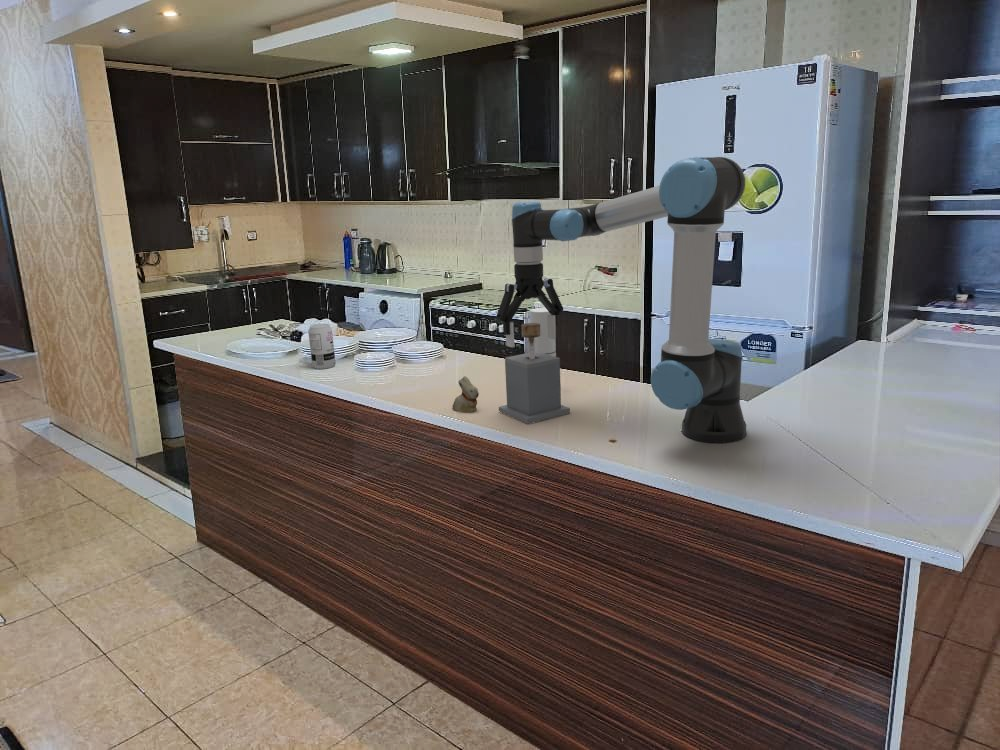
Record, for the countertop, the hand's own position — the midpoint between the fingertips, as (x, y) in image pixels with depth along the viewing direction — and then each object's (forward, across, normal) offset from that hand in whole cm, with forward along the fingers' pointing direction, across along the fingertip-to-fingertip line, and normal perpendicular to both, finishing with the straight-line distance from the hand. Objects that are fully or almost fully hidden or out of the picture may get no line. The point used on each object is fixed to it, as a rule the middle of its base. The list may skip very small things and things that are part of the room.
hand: (531, 342), depth 197 cm
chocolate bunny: (+20, +13, -15) cm, 28 cm away
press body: (+20, 0, 0) cm, 20 cm away
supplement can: (+20, +26, -94) cm, 100 cm away
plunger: (+15, 0, 0) cm, 15 cm away
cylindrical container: (+20, -14, -14) cm, 28 cm away
